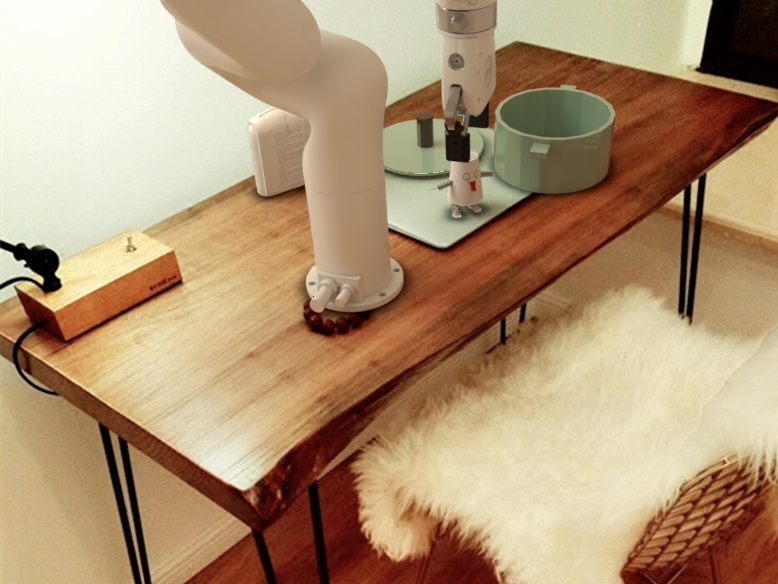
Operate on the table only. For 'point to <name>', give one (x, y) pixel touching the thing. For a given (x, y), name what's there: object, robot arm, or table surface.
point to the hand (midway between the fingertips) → (468, 143)
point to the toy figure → (465, 184)
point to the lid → (421, 146)
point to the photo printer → (277, 150)
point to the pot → (553, 139)
